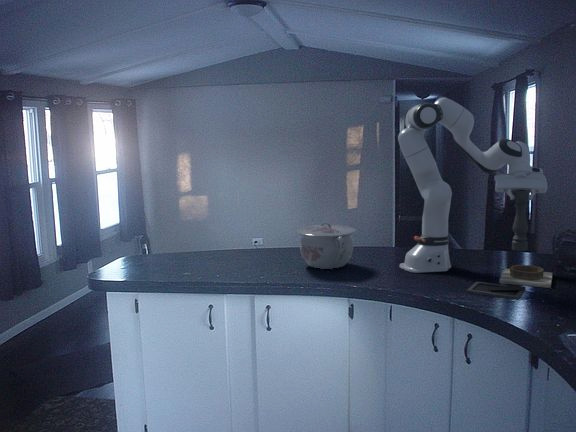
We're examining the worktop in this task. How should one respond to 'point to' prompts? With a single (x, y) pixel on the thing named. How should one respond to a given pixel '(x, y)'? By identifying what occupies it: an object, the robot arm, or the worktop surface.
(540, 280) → the collar board
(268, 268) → the worktop surface
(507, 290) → the picture frame
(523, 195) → the candle holder
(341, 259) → the chamber pot
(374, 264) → the worktop surface
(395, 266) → the worktop surface
